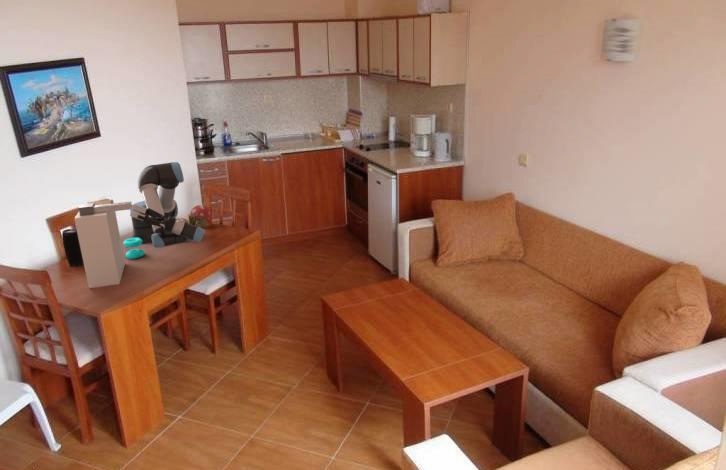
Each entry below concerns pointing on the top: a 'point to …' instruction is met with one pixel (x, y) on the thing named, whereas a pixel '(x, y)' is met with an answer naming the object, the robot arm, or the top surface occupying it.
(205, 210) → the decorative mushroom
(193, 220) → the house plant
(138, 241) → the donuts
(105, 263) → the tall cream pillar block
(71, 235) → the portable speaker
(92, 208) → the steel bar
